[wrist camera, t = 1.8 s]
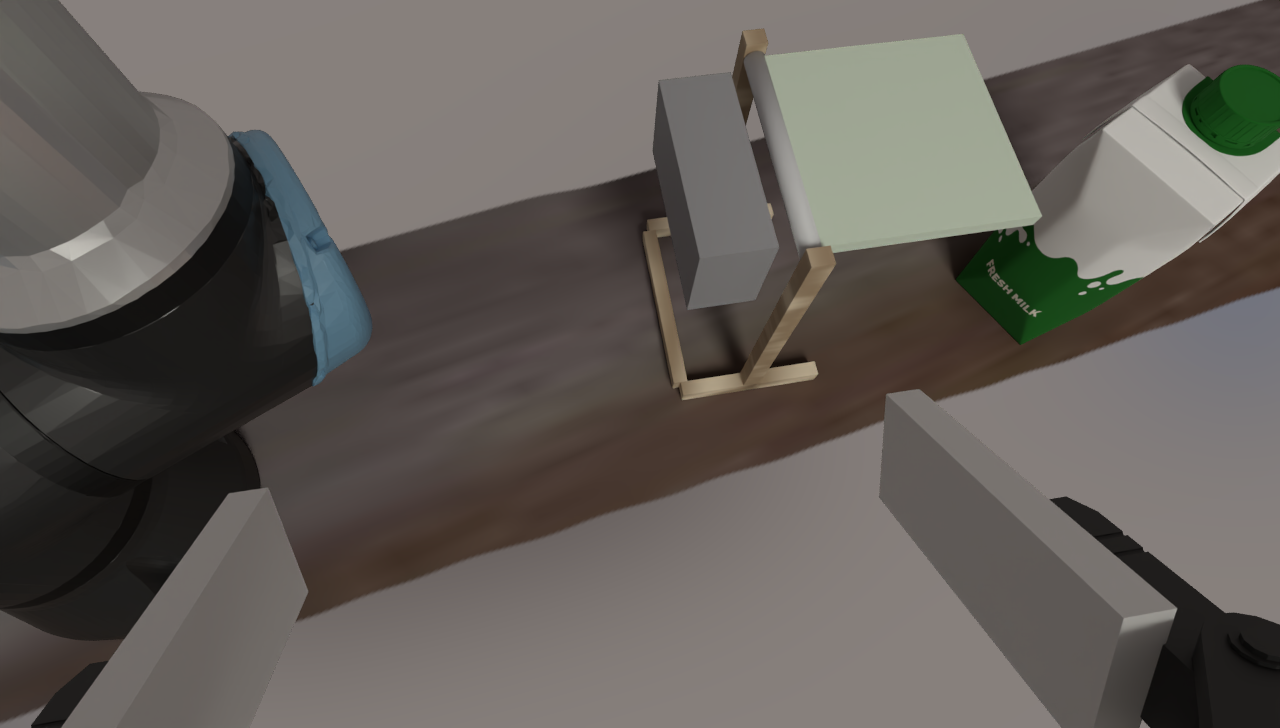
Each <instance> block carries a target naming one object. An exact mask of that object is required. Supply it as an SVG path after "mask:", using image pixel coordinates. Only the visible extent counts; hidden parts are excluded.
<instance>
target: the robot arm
mask: <svg viewBox="0 0 1280 728" xmlns="http://www.w3.org/2000/svg"><path fill="white" fill-rule="evenodd" d="M371 333H372V319H371V315H370V312H369V310H368V307H367V305H366V302H365V300H364V298H363V296H362V294H361V292H360V290H359V288H358V285H357V284H356V282H355V280H354V278H353V276H352V274H351V272H350V270H349V268H348V266H347V264H346V262H345V260H344V259H343V257H342V255H341V253H340V251H339V250H338V248H337V246H336V244H335V243H334V241H333V240H332V238H331V237H330V236H329V235H328V233H327V229H326V227H325V225H324V223H323V222H322V220H321V218H320V216H319V214H318V212H317V210H316V208H315V206H314V204H313V203H312V201H311V199H310V197H309V195H308V194H307V192H306V191H305V189H304V187H303V185H302V184H301V182H300V180H299V178H298V177H297V175H296V174H295V172H294V170H293V169H292V167H291V165H290V164H289V162H288V161H287V159H286V157H285V156H284V154H283V153H282V151H281V150H280V148H279V147H278V145H277V144H276V142H275V141H274V140H273V139H272V138H271V137H270V136H269V135H268V134H267V133H266V132H264V131H261V130H250V131H247V132H245V133H244V132H233V133H232V134H231V135H229V136H227V135H226V134H225V133H224V131H223V130H222V129H221V128H220V126H219V125H218V124H217V123H216V122H215V121H214V120H213V119H212V118H211V117H210V116H208V115H207V114H206V113H205V112H204V111H202V110H201V109H200V108H198V107H197V106H195V105H193V104H191V103H189V102H186V101H184V100H182V99H178V98H175V97H171V96H167V95H162V94H155V93H147V92H138V91H137V89H136V88H135V87H134V86H133V85H132V84H131V83H130V82H129V80H128V79H127V78H126V77H125V76H124V75H123V73H122V72H121V71H120V70H119V69H118V68H117V67H116V66H115V64H114V63H113V62H112V61H111V60H110V59H109V57H108V56H107V55H106V54H105V53H104V52H103V51H102V50H101V48H100V47H99V46H98V45H97V44H96V43H95V41H94V40H93V39H92V38H91V37H90V36H89V35H88V33H87V32H86V31H85V30H84V29H83V28H82V27H81V26H80V24H79V23H78V22H77V21H76V20H75V19H74V18H73V16H72V15H71V14H70V13H69V12H68V11H67V9H66V8H65V7H64V6H63V5H62V4H61V3H60V2H59V0H0V610H2V611H4V612H6V613H8V614H10V615H12V616H14V617H16V618H18V619H20V620H22V621H24V622H26V623H28V624H30V625H32V626H34V627H36V628H38V629H40V630H42V631H44V632H47V633H50V634H52V635H56V636H59V637H64V638H69V639H75V640H85V641H97V640H116V639H124V641H123V642H122V643H121V645H120V646H119V648H118V649H117V650H116V652H115V653H114V655H113V656H112V657H111V659H110V660H109V661H104V662H99V663H93V664H89V665H88V666H87V667H86V668H85V669H83V670H82V671H81V672H80V673H79V674H78V675H76V676H75V677H74V678H73V679H72V680H71V681H69V682H68V683H67V684H66V685H65V686H64V687H62V688H61V689H60V690H59V691H58V692H57V693H55V695H54V696H53V697H52V699H51V700H50V701H49V702H48V704H47V705H46V706H45V708H44V709H43V710H42V712H41V713H40V714H39V716H38V717H37V718H36V720H35V721H34V722H33V724H32V725H31V728H250V725H251V723H252V721H253V718H254V716H255V714H256V711H257V709H258V707H259V705H260V702H261V700H262V698H263V695H264V693H265V691H266V688H267V686H268V684H269V681H270V679H271V677H272V674H273V672H274V670H275V668H276V665H277V663H278V661H279V658H280V656H281V653H282V651H283V649H284V647H285V644H286V642H287V640H288V637H289V635H290V633H291V630H292V628H293V626H294V623H295V621H296V619H297V617H298V614H299V612H300V610H301V607H302V605H303V603H304V600H305V598H306V596H307V593H308V590H307V587H306V585H305V582H304V579H303V577H302V574H301V572H300V569H299V566H298V564H297V561H296V559H295V556H294V553H293V551H292V548H291V546H290V543H289V540H288V538H287V535H286V533H285V530H284V527H283V525H282V522H281V520H280V517H279V514H278V512H277V509H276V507H275V504H274V501H273V499H272V496H271V494H270V491H269V488H261V489H260V481H259V476H258V471H257V468H256V465H255V462H254V459H253V457H252V455H251V453H250V451H249V450H248V448H247V446H246V445H245V443H244V442H243V441H242V439H241V438H240V437H239V436H238V435H237V434H236V433H235V432H234V430H235V429H237V428H239V427H241V426H242V425H244V424H246V423H248V422H249V421H251V420H253V419H255V418H256V417H258V416H260V415H262V414H263V413H265V412H267V411H268V410H270V409H272V408H274V407H275V406H277V405H279V404H281V403H282V402H284V401H286V400H288V399H289V398H291V397H293V396H295V395H296V394H298V393H300V392H302V391H303V390H305V389H307V388H309V387H310V386H315V385H317V384H319V383H320V382H321V381H322V380H323V379H324V378H325V375H326V374H327V373H329V372H330V371H332V370H333V369H335V368H336V367H338V366H339V365H341V364H342V363H344V362H345V361H347V360H348V359H350V358H351V357H353V356H354V355H356V354H357V353H359V352H360V351H361V350H362V349H363V348H364V347H365V346H366V345H367V343H368V341H369V339H370V337H371ZM880 479H881V480H880V493H879V498H880V499H881V500H882V502H883V503H884V504H885V505H886V506H887V508H888V509H889V510H890V512H891V513H892V514H893V515H894V517H895V518H896V519H897V521H898V522H899V523H900V524H901V525H902V527H903V528H904V529H905V531H906V532H907V533H908V534H909V536H910V537H911V538H912V539H913V541H914V542H915V543H916V544H917V546H918V547H919V548H920V550H921V551H922V552H923V553H924V555H925V556H926V557H927V558H928V560H929V561H930V562H931V563H932V565H933V566H934V567H935V569H936V570H937V571H938V572H939V574H940V575H941V576H942V577H943V579H944V580H945V581H946V582H947V584H948V585H949V586H950V587H951V589H952V590H953V591H954V592H955V594H956V595H957V596H958V598H959V599H960V600H961V601H962V603H963V604H964V605H965V606H966V608H967V609H968V610H969V611H970V613H971V614H972V615H973V616H974V618H975V619H976V620H977V622H979V624H980V625H981V626H982V628H983V629H984V630H985V632H986V633H987V634H988V636H989V637H990V638H991V639H992V640H993V642H994V643H995V644H996V646H997V647H998V648H999V649H1000V651H1001V652H1002V653H1003V654H1004V656H1005V657H1006V658H1007V660H1008V661H1009V662H1010V663H1011V665H1012V666H1013V667H1014V668H1015V670H1016V671H1017V672H1018V673H1019V675H1020V676H1021V677H1022V678H1023V680H1024V681H1025V682H1026V684H1027V685H1028V686H1029V687H1030V689H1031V690H1032V691H1033V692H1034V694H1035V695H1036V696H1037V697H1038V699H1039V700H1040V701H1041V703H1042V704H1043V705H1044V706H1045V708H1046V709H1047V710H1048V711H1049V713H1050V714H1051V715H1052V716H1053V718H1054V719H1055V720H1056V721H1057V723H1058V724H1059V725H1060V726H1061V728H1139V727H1140V724H1141V721H1142V719H1143V720H1144V722H1145V723H1146V724H1147V725H1148V726H1149V727H1150V728H1280V625H1279V624H1276V623H1274V622H1271V621H1268V620H1265V619H1262V618H1260V617H1257V616H1251V615H1245V614H1239V613H1224V612H1223V611H1222V610H1221V609H1219V608H1218V607H1217V606H1216V605H1214V604H1213V603H1212V602H1211V601H1209V600H1208V599H1207V598H1206V597H1204V596H1203V595H1202V594H1200V593H1199V592H1198V591H1197V590H1196V589H1194V588H1193V587H1192V586H1190V585H1189V584H1188V583H1187V582H1185V581H1184V580H1183V579H1181V578H1180V577H1179V576H1178V575H1177V574H1175V573H1174V572H1172V570H1170V569H1169V568H1168V567H1167V566H1165V565H1164V564H1163V563H1162V562H1160V561H1159V560H1158V559H1157V558H1155V557H1154V556H1153V555H1151V554H1150V553H1149V552H1144V551H1143V547H1141V546H1140V545H1139V544H1137V542H1135V541H1134V540H1133V539H1131V538H1130V537H1129V536H1128V535H1126V536H1124V535H1123V532H1122V530H1120V529H1119V528H1117V527H1116V526H1115V525H1114V524H1113V523H1111V522H1110V521H1109V520H1108V519H1106V518H1105V517H1104V516H1102V515H1101V514H1100V513H1099V512H1097V511H1095V510H1093V509H1091V508H1089V507H1087V506H1085V505H1083V504H1081V503H1078V502H1077V501H1074V500H1072V499H1070V498H1068V497H1061V498H1055V499H1048V498H1047V497H1046V496H1044V495H1043V494H1042V493H1041V492H1040V491H1039V490H1037V489H1036V488H1035V487H1034V486H1033V485H1032V484H1030V483H1029V482H1028V481H1027V480H1026V479H1024V478H1023V477H1022V476H1021V475H1020V474H1019V473H1017V472H1016V471H1015V470H1014V469H1013V468H1011V467H1010V466H1009V465H1008V464H1006V462H1005V461H1003V460H1002V459H1001V458H1000V457H999V456H997V455H996V454H995V453H994V452H993V451H992V450H990V449H989V448H988V447H987V446H986V445H984V444H983V443H982V442H981V441H980V440H979V439H977V438H976V437H975V436H974V435H973V434H972V433H970V432H969V431H968V430H967V429H966V428H964V427H963V426H962V425H961V424H960V423H959V422H957V421H956V420H955V419H954V418H953V417H952V416H950V415H949V414H948V413H947V412H946V411H944V410H943V409H942V408H941V407H940V406H939V405H937V404H936V403H935V402H934V401H933V400H931V399H930V398H929V397H928V396H927V395H926V394H924V393H923V392H922V391H921V390H920V389H917V390H910V391H904V392H897V393H891V394H886V405H885V420H884V434H883V449H882V464H881V478H880Z"/></svg>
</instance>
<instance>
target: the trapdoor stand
mask: <svg viewBox="0 0 1280 728" xmlns="http://www.w3.org/2000/svg"><path fill="white" fill-rule="evenodd" d="M767 46H768V40H767V37H766V33H765V30H764V29H755V30H746V31H742V36H741V40H740V45H739V49H738V54H737V58H736V63H735V67H734V72H733V76H732V79H733V83H734V86H735V90H736V93H737V97H738V101H739V104H740V108H741V111H742V115H743V119H744V122H745V126H746V122H747V119H748V115H749V111H750V108H751V104H752V100H753V94H752V90H751V87H750V83H749V80H748V77H747V73H746V70H745V66H744V59H745V57H746V56H747V55H748V54H750V53H751V52H754V51H761V52H763V53H764V54H765V53H766V49H767ZM767 205H768V209H769V213H770V216H771V219H772V217H773V211H772V207H771V203H770V204H767ZM665 236H671V233H670V229H669V224H668V219H667V217H664V218H656V219H649V220H647V231H643V244H644V249H645V254H646V259H647V264H648V269H649V274H650V279H651V284H652V289H653V294H654V299H655V304H656V309H657V314H658V319H659V324H660V329H661V334H662V339H663V344H664V349H665V354H666V359H667V364H668V369H669V374H670V379H671V384H672V388H678V387H679V389H680V394H681V399H682V400H686V399H693V398H699V397H705V396H712V395H718V394H724V393H731V392H737V391H743V390H750V389H756V388H762V387H769V386H775V385H781V384H788V383H794V382H800V381H807V380H813V379H814V378H815V377H816V376H817V375H818V372H817V368H816V365H815V361H814V362H807V363H801V364H794V365H788V366H781V367H775V368H770V366H771V365H772V363H773V361H774V360H775V358H776V357H777V355H778V354H779V352H780V351H781V349H782V347H783V346H784V344H785V343H786V341H787V340H788V338H789V337H790V335H791V333H792V332H793V330H794V329H795V327H796V326H797V324H798V322H799V321H800V319H801V318H802V316H803V315H804V313H805V312H806V310H807V308H808V307H809V305H810V304H811V302H812V301H813V299H814V298H815V296H816V294H817V293H818V291H819V290H820V288H821V287H822V285H823V284H824V282H825V280H826V279H827V277H828V276H829V274H830V273H831V271H832V270H833V268H834V266H835V265H836V262H835V259H834V255H833V252H832V249H831V246H823V247H816V248H809V249H806V250H805V252H804V254H803V256H802V258H801V260H800V262H799V264H798V265H797V267H796V269H795V271H794V273H793V275H792V277H791V279H790V280H789V282H788V284H787V286H786V288H785V290H784V292H783V294H782V295H781V297H780V299H779V301H778V303H777V305H776V307H775V309H774V310H773V312H772V314H771V316H770V318H769V320H768V322H767V324H766V325H765V327H764V329H763V331H762V333H761V335H760V337H759V339H758V340H757V342H756V344H755V346H754V348H753V350H752V352H751V354H750V355H749V357H748V359H747V361H746V363H745V365H744V367H743V369H742V370H741V372H740V373H736V374H730V375H723V376H717V377H710V378H704V379H698V380H691V381H687V376H686V372H685V367H684V362H683V357H682V353H681V348H680V343H679V338H678V333H677V329H676V324H675V319H674V314H673V310H672V305H671V300H670V295H669V290H668V286H667V281H666V276H665V271H664V267H663V262H662V257H661V252H660V247H659V243H658V238H657V237H665Z"/></svg>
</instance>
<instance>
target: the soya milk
mask: <svg viewBox="0 0 1280 728" xmlns="http://www.w3.org/2000/svg"><path fill="white" fill-rule="evenodd" d="M1129 107H1130V108H1129ZM1128 108H1129V109H1128ZM1126 109H1127V110H1126ZM1125 110H1126V111H1125ZM1123 111H1125V112H1123ZM1121 112H1123V113H1122V114H1121V115H1119V116H1118V117H1116V118H1115V119H1114V120H1112V121H1111V122H1109V123H1108V124H1107V125H1105V126H1104V127H1103V128H1101V129H1100V130H1099V131H1098V132H1096V133H1095V134H1094V135H1093V136H1091V137H1090V138H1088V139H1087V140H1086V141H1084V142H1083V143H1082V144H1080V145H1079V146H1078V147H1077V148H1075V149H1074V150H1073V151H1072V152H1071V153H1070V154H1069V155H1068V156H1067V157H1065V158H1064V159H1063V160H1062V161H1061V162H1060V163H1059V164H1058V165H1057V166H1056V167H1055V168H1054V169H1053V170H1052V171H1051V172H1050V173H1049V174H1048V175H1047V176H1046V177H1045V178H1044V179H1043V180H1042V181H1041V182H1040V183H1039V184H1038V185H1037V186H1036V187H1035V188H1034V190H1033V191H1032V194H1033V196H1034V198H1035V201H1036V203H1037V205H1038V208H1039V210H1040V212H1041V215H1042V217H1041V218H1040V219H1039V220H1038V221H1037V222H1036V223H1034V224H1033V225H1028V226H1021V227H1014V228H1007V229H1000V230H995V231H994V232H993V233H992V234H991V236H990V237H989V238H988V239H987V241H986V242H985V243H984V245H983V246H982V247H981V248H980V250H979V251H978V252H977V253H976V255H975V256H974V257H973V258H972V260H971V261H970V262H969V263H968V265H967V266H966V267H965V268H964V270H963V271H962V272H961V273H960V275H959V276H958V277H957V278H956V281H957V282H958V283H959V284H960V285H961V286H962V287H963V288H964V289H965V290H966V291H967V292H968V293H969V294H970V295H971V296H972V297H973V298H974V299H975V300H976V301H977V302H978V303H979V304H980V305H981V306H982V307H983V308H984V309H985V310H986V311H987V312H988V313H989V314H990V315H991V316H992V317H993V318H994V319H995V320H996V321H997V322H998V323H999V324H1000V325H1001V326H1002V327H1003V328H1004V329H1005V330H1006V331H1007V332H1008V333H1009V334H1010V335H1011V336H1012V337H1013V338H1014V339H1015V340H1016V341H1017V342H1018V343H1019V344H1020V345H1021V344H1023V343H1025V342H1027V341H1029V340H1031V339H1033V338H1035V337H1037V336H1040V335H1042V334H1044V333H1046V332H1048V331H1050V330H1052V329H1054V328H1056V327H1058V326H1060V325H1062V324H1064V323H1066V322H1068V321H1070V320H1072V319H1074V318H1076V317H1078V316H1080V315H1082V314H1084V313H1086V312H1088V311H1090V310H1092V309H1093V308H1095V307H1097V306H1099V305H1100V304H1102V303H1104V302H1105V301H1107V300H1108V299H1110V298H1112V297H1113V296H1115V295H1116V294H1118V293H1120V292H1121V291H1123V290H1124V289H1126V288H1128V287H1129V286H1131V285H1132V284H1134V283H1135V282H1137V281H1139V280H1140V279H1142V278H1143V277H1145V276H1147V275H1148V274H1150V273H1151V272H1153V271H1155V270H1156V269H1158V268H1159V267H1161V266H1162V265H1164V264H1166V263H1167V262H1169V261H1170V260H1172V259H1174V258H1175V257H1177V256H1178V255H1180V254H1181V253H1182V252H1184V251H1185V250H1187V249H1188V248H1190V247H1191V246H1192V245H1193V244H1195V243H1196V242H1197V241H1198V240H1199V239H1200V238H1202V237H1203V236H1204V235H1205V234H1206V233H1207V232H1209V231H1210V230H1211V229H1212V228H1214V227H1215V226H1216V225H1217V224H1218V223H1219V222H1221V221H1222V220H1223V219H1224V218H1225V217H1226V216H1227V215H1229V214H1230V213H1231V212H1232V211H1233V210H1234V209H1235V208H1237V207H1238V206H1239V205H1240V204H1241V203H1242V202H1243V201H1244V202H1243V203H1242V204H1241V205H1240V206H1239V208H1238V209H1237V210H1236V211H1235V212H1234V213H1233V214H1232V215H1231V216H1229V217H1228V218H1227V219H1226V220H1225V221H1223V222H1222V223H1221V224H1220V225H1218V226H1217V227H1216V228H1215V229H1213V230H1212V231H1211V232H1210V233H1209V234H1207V235H1206V236H1205V237H1204V238H1203V239H1202V240H1200V241H1199V242H1202V241H1203V240H1204V239H1206V238H1207V237H1209V236H1210V235H1211V234H1212V233H1214V232H1215V231H1216V230H1217V229H1219V228H1220V227H1221V226H1222V225H1223V224H1225V223H1226V222H1227V221H1228V220H1229V219H1230V218H1232V217H1233V216H1234V215H1235V214H1236V213H1237V212H1238V211H1239V210H1240V209H1241V208H1243V207H1244V206H1245V205H1246V204H1247V203H1248V202H1249V201H1250V200H1251V199H1252V198H1253V197H1255V196H1256V195H1257V194H1258V193H1259V192H1260V191H1261V190H1262V189H1263V188H1264V187H1265V186H1267V185H1268V184H1269V183H1270V182H1271V181H1272V180H1273V179H1274V178H1275V177H1276V176H1277V175H1278V174H1279V173H1280V133H1279V132H1278V131H1276V130H1277V129H1278V128H1280V77H1278V76H1277V75H1275V74H1274V73H1272V72H1270V71H1268V70H1266V69H1264V68H1261V67H1258V66H1253V65H1237V66H1233V67H1231V68H1229V69H1227V70H1226V71H1224V72H1223V73H1222V74H1220V75H1219V76H1218V77H1217V78H1216V79H1215V80H1212V79H1211V78H1210V77H1208V76H1207V77H1206V78H1205V77H1204V76H1203V75H1202V74H1201V73H1200V72H1199V71H1198V70H1196V69H1195V68H1194V67H1192V66H1191V65H1186V66H1184V67H1183V68H1181V69H1180V70H1179V71H1177V72H1176V73H1174V74H1173V75H1171V76H1170V77H1168V78H1167V79H1165V80H1164V81H1162V82H1160V83H1159V84H1157V85H1156V86H1154V87H1153V88H1151V89H1150V90H1148V91H1147V92H1145V93H1144V94H1142V95H1141V96H1139V97H1138V98H1136V99H1135V100H1134V101H1132V102H1131V103H1130V104H1128V105H1127V106H1125V107H1124V108H1123V109H1121V110H1120V111H1118V112H1117V113H1115V114H1114V115H1112V116H1111V117H1109V118H1108V119H1107V120H1105V121H1104V122H1103V123H1101V124H1100V125H1099V126H1097V127H1096V128H1095V129H1094V130H1092V131H1091V132H1090V133H1089V134H1087V135H1086V136H1085V137H1084V138H1083V139H1082V140H1084V139H1085V138H1086V137H1088V136H1089V135H1090V134H1092V133H1093V132H1094V131H1096V130H1097V129H1098V128H1100V127H1101V126H1102V125H1103V124H1105V123H1106V122H1107V121H1108V120H1110V119H1111V118H1113V117H1114V116H1116V115H1118V114H1120V113H1121Z"/></svg>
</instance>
